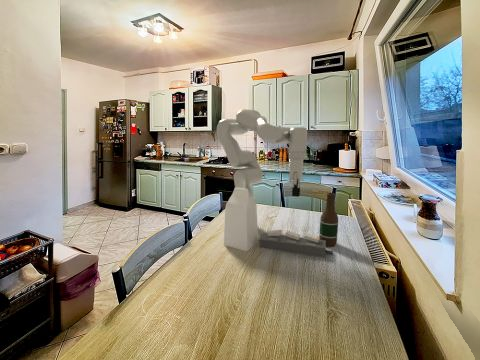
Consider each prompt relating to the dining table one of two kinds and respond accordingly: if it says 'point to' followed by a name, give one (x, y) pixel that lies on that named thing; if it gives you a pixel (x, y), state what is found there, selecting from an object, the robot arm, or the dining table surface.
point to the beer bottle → (329, 222)
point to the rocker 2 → (311, 237)
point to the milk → (240, 220)
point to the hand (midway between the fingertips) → (295, 195)
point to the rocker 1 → (274, 232)
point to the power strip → (293, 245)
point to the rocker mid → (292, 235)
